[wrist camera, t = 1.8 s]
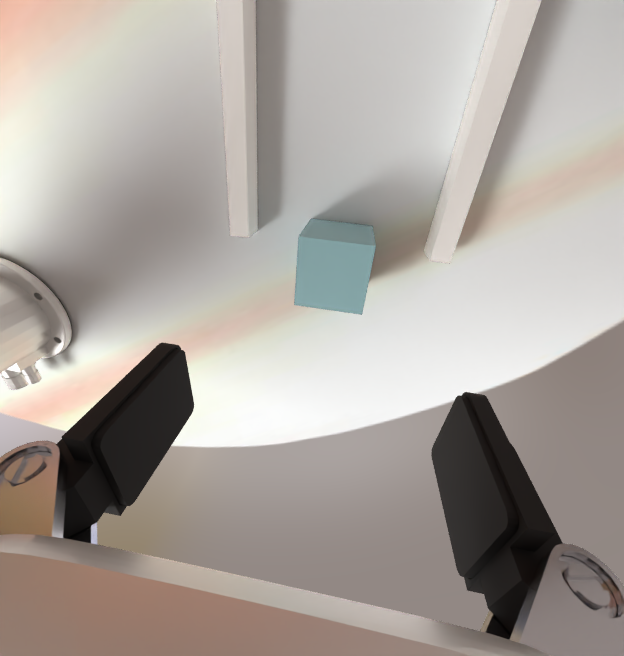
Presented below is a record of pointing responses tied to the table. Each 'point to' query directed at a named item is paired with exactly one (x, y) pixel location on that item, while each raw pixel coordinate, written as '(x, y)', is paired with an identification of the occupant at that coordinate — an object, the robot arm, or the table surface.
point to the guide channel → (469, 150)
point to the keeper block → (334, 265)
